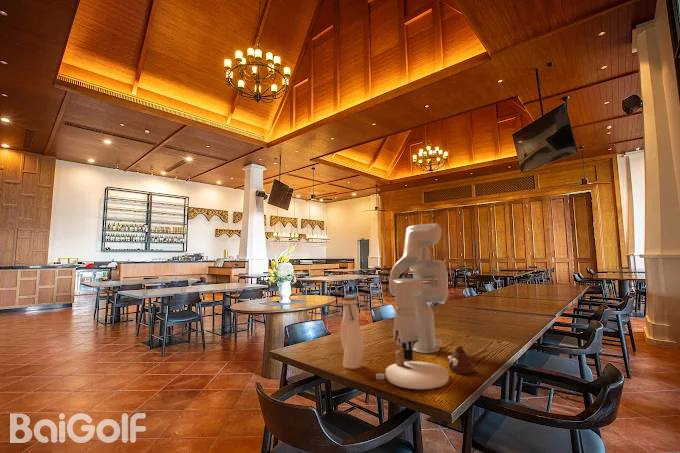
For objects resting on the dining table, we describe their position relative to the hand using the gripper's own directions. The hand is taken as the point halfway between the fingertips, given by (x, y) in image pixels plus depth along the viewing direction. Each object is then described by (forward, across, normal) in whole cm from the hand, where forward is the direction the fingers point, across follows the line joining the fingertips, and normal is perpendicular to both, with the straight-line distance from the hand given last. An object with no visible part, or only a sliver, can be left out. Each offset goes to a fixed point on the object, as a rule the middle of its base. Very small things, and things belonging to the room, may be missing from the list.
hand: (408, 359), depth 124 cm
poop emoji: (+4, -15, +12) cm, 20 cm away
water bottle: (+4, +14, -18) cm, 23 cm away
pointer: (+4, +14, 0) cm, 15 cm away
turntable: (+4, +4, +8) cm, 10 cm away
